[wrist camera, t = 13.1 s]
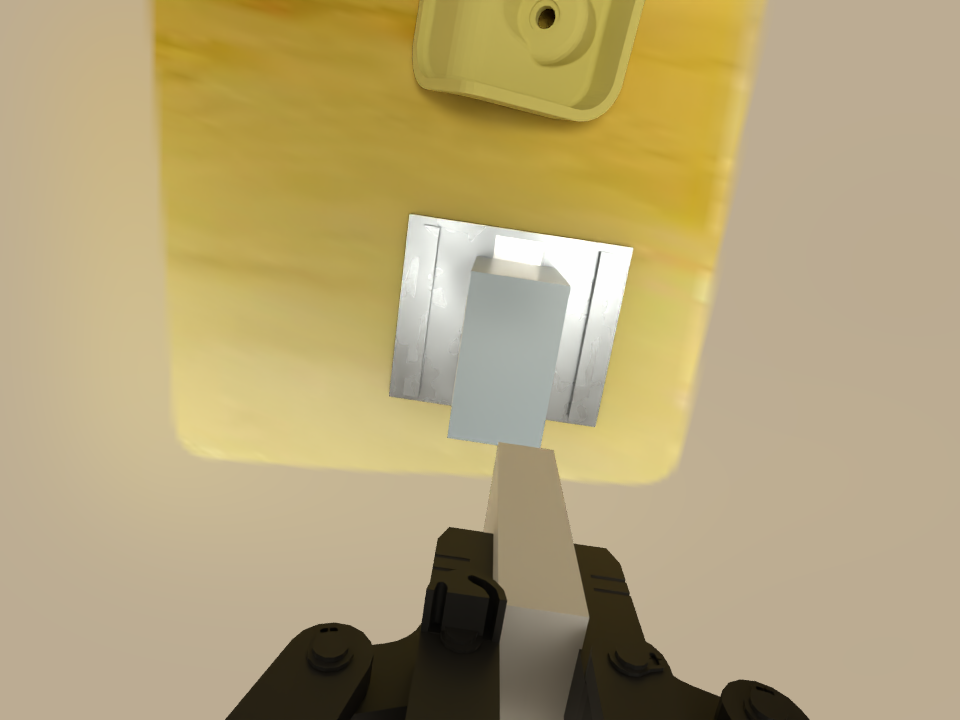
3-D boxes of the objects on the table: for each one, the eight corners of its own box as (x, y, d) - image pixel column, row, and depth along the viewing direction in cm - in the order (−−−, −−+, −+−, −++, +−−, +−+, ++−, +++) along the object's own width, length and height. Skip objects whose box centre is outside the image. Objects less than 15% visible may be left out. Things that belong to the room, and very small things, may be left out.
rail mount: (411, 213, 37) (407, 214, 36) (630, 247, 38) (635, 249, 36) (391, 392, 41) (387, 399, 39) (593, 422, 41) (596, 430, 39)
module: (476, 255, 37) (470, 270, 29) (556, 268, 37) (571, 286, 30) (456, 390, 40) (446, 437, 32) (532, 402, 40) (540, 451, 32)
